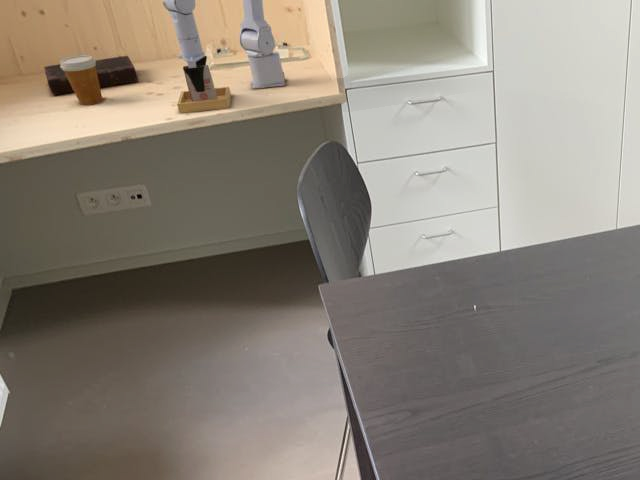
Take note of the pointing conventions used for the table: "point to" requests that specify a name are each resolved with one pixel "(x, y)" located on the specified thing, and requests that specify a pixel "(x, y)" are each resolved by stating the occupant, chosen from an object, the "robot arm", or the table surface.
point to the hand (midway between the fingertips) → (201, 87)
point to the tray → (219, 103)
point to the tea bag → (208, 83)
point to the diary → (106, 70)
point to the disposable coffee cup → (83, 78)
